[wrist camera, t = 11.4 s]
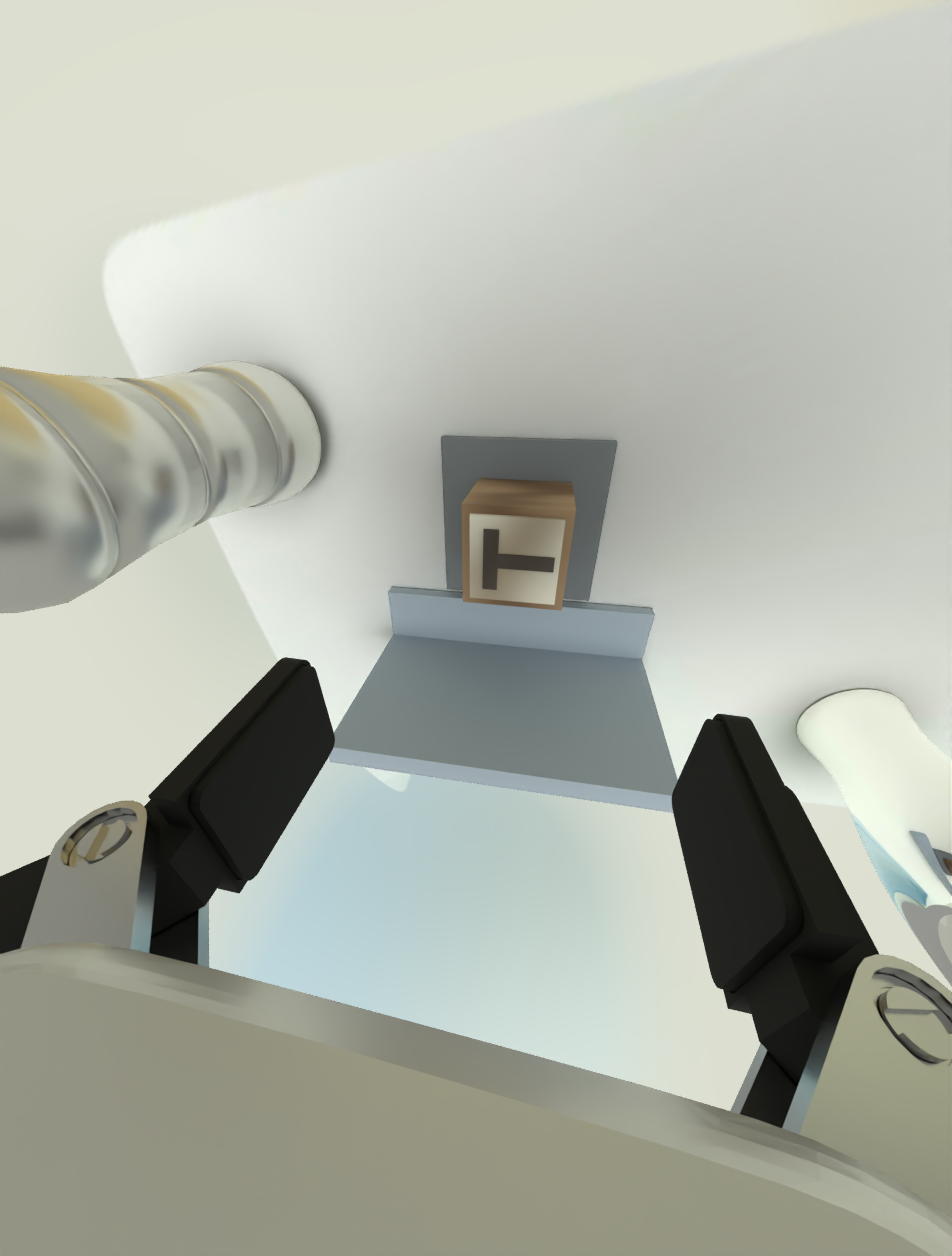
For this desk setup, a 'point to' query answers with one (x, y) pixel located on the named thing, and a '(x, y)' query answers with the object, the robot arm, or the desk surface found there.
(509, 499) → the letter cube
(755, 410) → the desk surface
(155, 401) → the plastic bottle
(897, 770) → the beer glass
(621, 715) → the screen
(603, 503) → the mat
